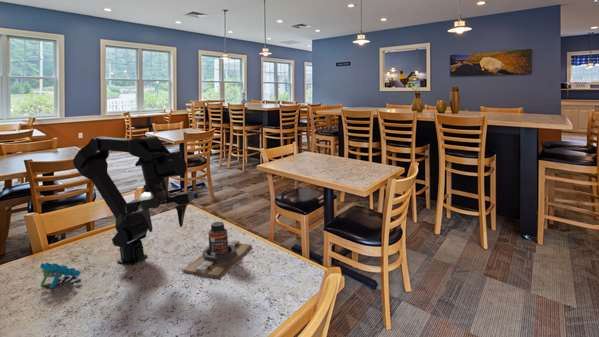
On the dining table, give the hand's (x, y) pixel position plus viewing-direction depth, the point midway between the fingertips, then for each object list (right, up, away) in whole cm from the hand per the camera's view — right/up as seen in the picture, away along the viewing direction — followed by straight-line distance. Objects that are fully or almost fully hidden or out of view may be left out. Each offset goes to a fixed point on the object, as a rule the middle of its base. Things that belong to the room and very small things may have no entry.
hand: (166, 229), depth 102 cm
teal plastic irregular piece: (-28, -14, -5) cm, 32 cm away
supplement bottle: (+14, -10, +8) cm, 19 cm away
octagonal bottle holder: (+14, -11, +8) cm, 20 cm away
